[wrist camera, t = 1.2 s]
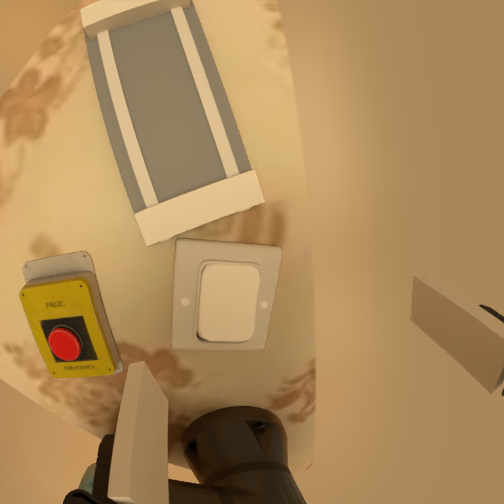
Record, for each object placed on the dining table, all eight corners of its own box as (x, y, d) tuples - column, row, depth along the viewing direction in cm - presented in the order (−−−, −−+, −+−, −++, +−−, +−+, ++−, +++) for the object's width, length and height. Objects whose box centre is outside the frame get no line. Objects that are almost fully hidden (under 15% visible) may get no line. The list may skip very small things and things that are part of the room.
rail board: (260, 202, 29) (271, 205, 26) (148, 245, 27) (143, 253, 24) (186, -10, 21) (188, -28, 18) (84, 23, 20) (75, 8, 16)
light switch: (171, 365, 28) (175, 247, 25) (171, 343, 32) (176, 236, 29) (270, 365, 31) (292, 255, 28) (260, 345, 35) (278, 244, 31)
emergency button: (53, 394, 24) (4, 272, 20) (63, 374, 28) (23, 261, 25) (121, 392, 26) (77, 258, 22) (126, 369, 30) (91, 248, 26)
